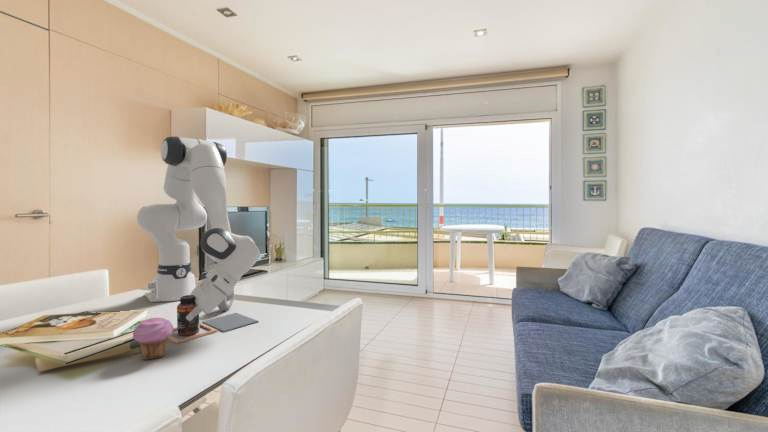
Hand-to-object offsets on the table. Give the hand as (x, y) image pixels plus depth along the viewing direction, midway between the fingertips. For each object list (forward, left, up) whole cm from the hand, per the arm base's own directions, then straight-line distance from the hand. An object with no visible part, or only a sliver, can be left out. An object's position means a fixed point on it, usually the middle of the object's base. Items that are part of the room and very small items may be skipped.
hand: (185, 315), depth 109 cm
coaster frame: (0, +1, -5) cm, 5 cm away
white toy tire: (-13, +20, -6) cm, 24 cm away
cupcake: (+10, -12, -6) cm, 17 cm away
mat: (+1, +14, -5) cm, 15 cm away
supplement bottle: (0, +1, -6) cm, 6 cm away
